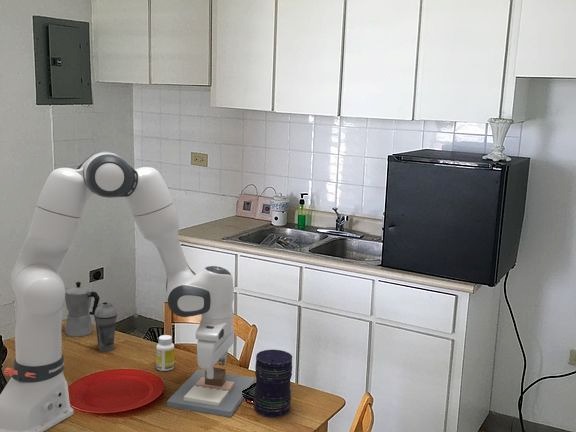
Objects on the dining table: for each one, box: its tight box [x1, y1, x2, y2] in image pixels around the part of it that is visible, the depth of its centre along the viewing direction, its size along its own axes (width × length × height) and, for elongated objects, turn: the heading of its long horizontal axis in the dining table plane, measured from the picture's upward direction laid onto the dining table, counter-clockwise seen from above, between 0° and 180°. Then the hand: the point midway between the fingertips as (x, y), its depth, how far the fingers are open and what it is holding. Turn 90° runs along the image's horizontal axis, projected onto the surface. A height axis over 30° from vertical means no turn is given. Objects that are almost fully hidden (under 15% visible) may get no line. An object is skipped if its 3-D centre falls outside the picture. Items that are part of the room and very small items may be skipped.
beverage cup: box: [93, 288, 118, 353], centre depth 207 cm, size 7×7×20 cm
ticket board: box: [166, 368, 256, 418], centre depth 180 cm, size 22×18×3 cm
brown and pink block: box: [195, 366, 235, 393], centre depth 181 cm, size 5×10×5 cm, turn 76°
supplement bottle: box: [155, 334, 175, 372], centre depth 195 cm, size 5×5×10 cm
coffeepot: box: [64, 281, 100, 338], centre depth 220 cm, size 15×9×18 cm, turn 66°
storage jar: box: [253, 349, 293, 419], centre depth 172 cm, size 10×10×15 cm
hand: (216, 370), depth 181 cm, fingers open, 8 cm apart
